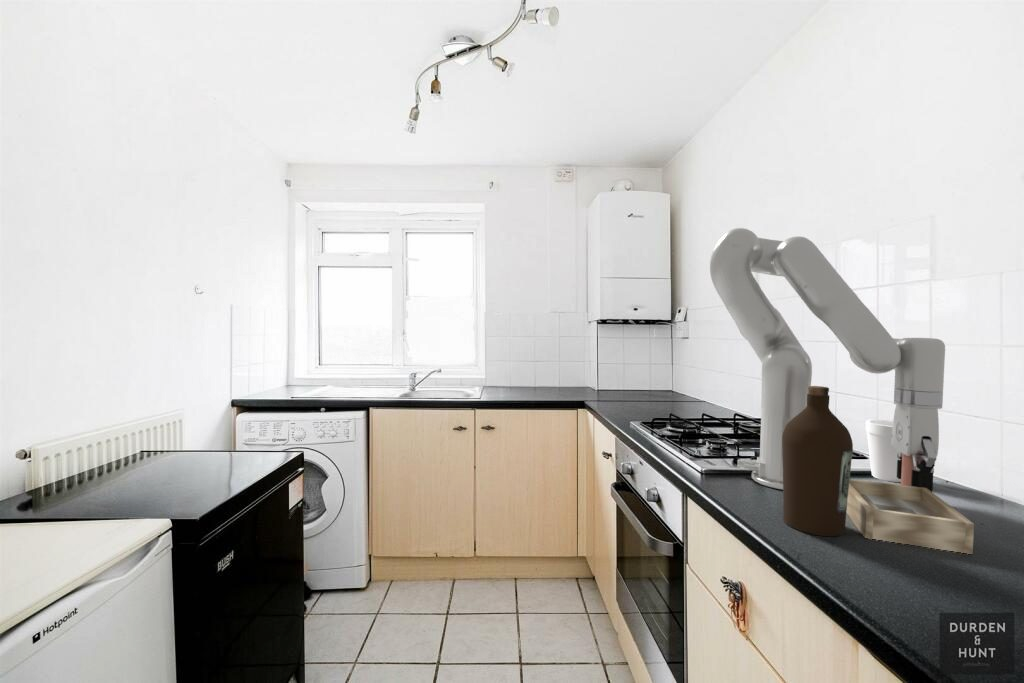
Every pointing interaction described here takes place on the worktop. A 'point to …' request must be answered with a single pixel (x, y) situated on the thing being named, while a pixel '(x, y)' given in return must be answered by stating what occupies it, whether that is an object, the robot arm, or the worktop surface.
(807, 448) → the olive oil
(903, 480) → the peg
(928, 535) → the box
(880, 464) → the foam cup
